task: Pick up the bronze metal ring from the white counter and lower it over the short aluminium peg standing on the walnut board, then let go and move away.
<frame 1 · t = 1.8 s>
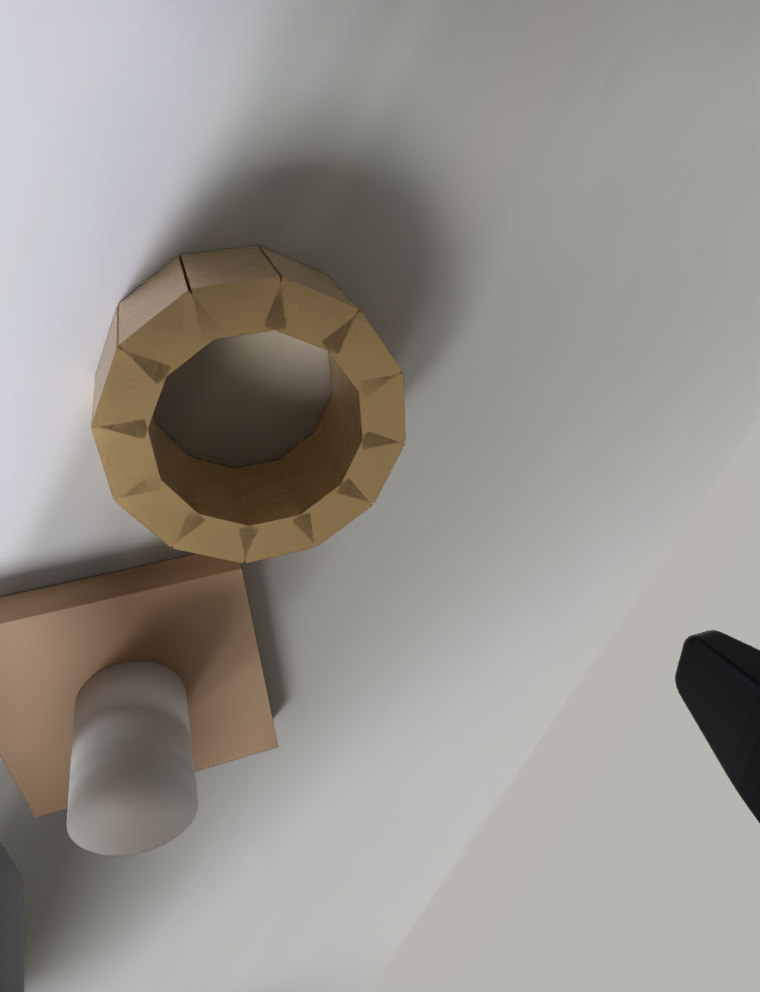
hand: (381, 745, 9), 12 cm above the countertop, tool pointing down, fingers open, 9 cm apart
peg stand: (131, 672, 22), on the countertop
ring: (242, 386, 18), on the countertop
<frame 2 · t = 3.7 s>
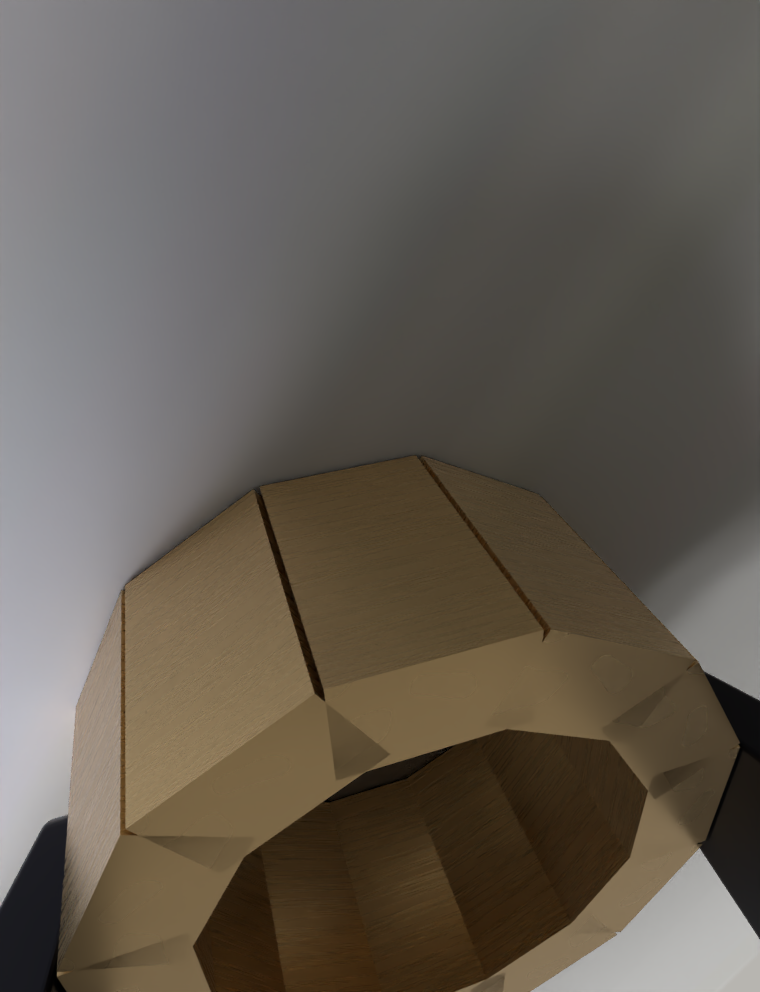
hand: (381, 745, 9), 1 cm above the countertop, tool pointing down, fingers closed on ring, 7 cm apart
ring: (359, 685, 10), on the countertop, touching gripper
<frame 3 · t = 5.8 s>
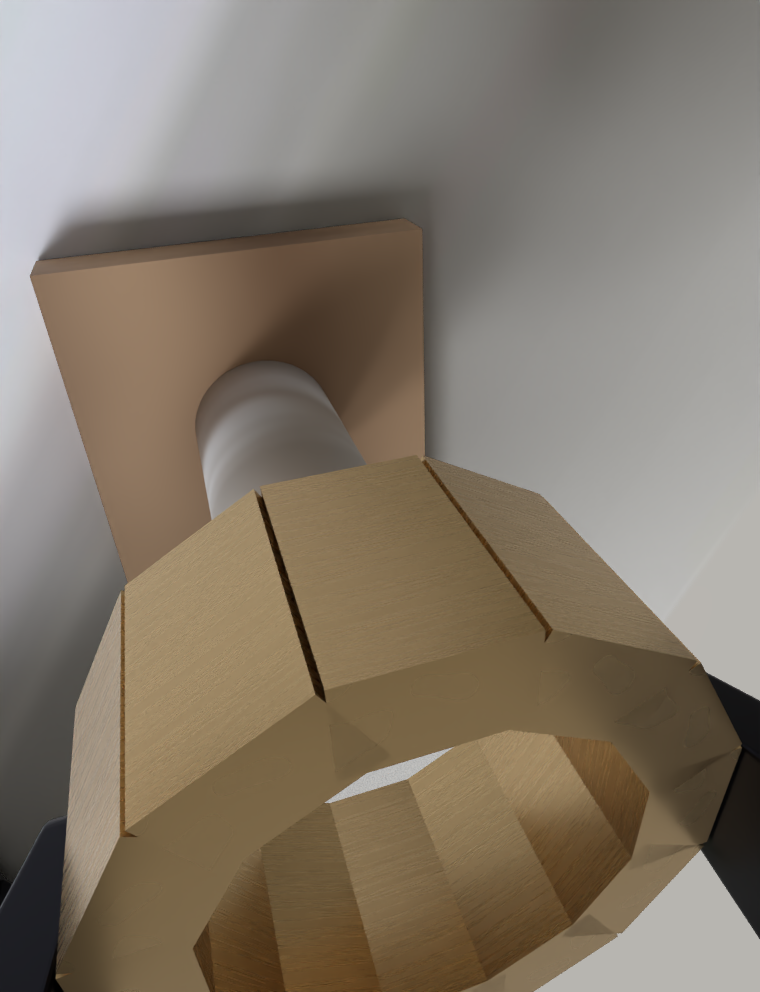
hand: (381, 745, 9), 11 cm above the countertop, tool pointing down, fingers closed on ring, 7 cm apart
peg stand: (257, 404, 17), on the countertop
ring: (359, 686, 10), point 10 cm above the countertop, touching gripper
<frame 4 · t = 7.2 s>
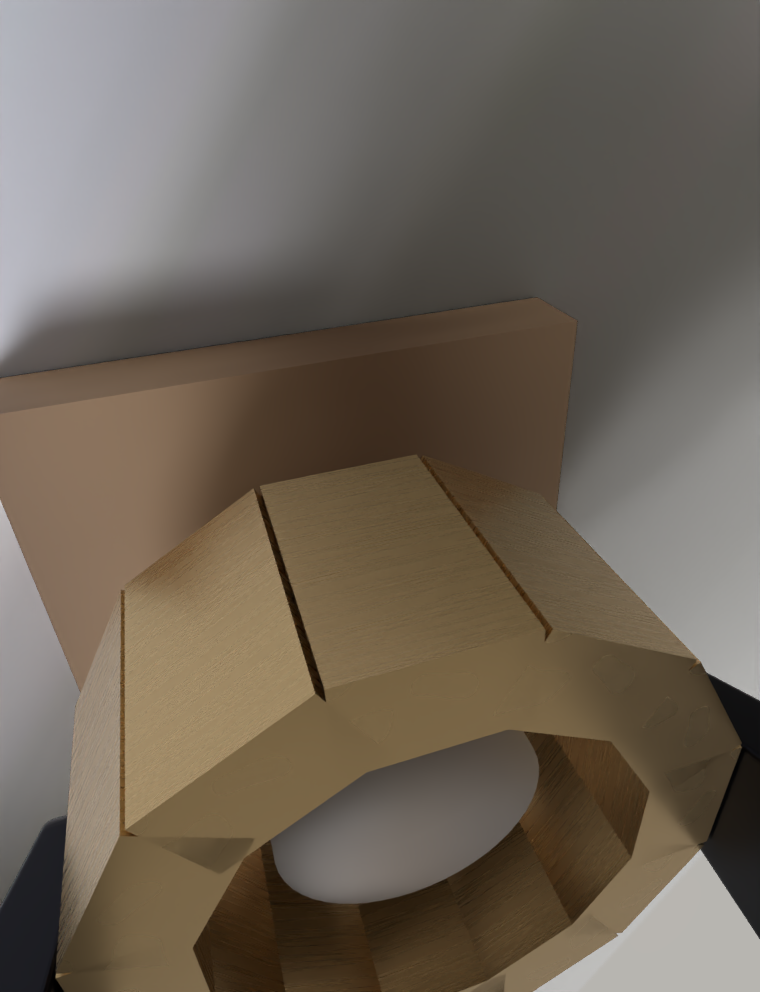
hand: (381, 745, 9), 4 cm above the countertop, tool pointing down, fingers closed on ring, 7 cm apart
peg stand: (313, 555, 12), on the countertop
ring: (359, 686, 10), point 3 cm above the countertop, touching gripper
when the fingers open (4 cm above the countertop, at t = 8.2 s): ring drops 2 cm, resting on peg stand.
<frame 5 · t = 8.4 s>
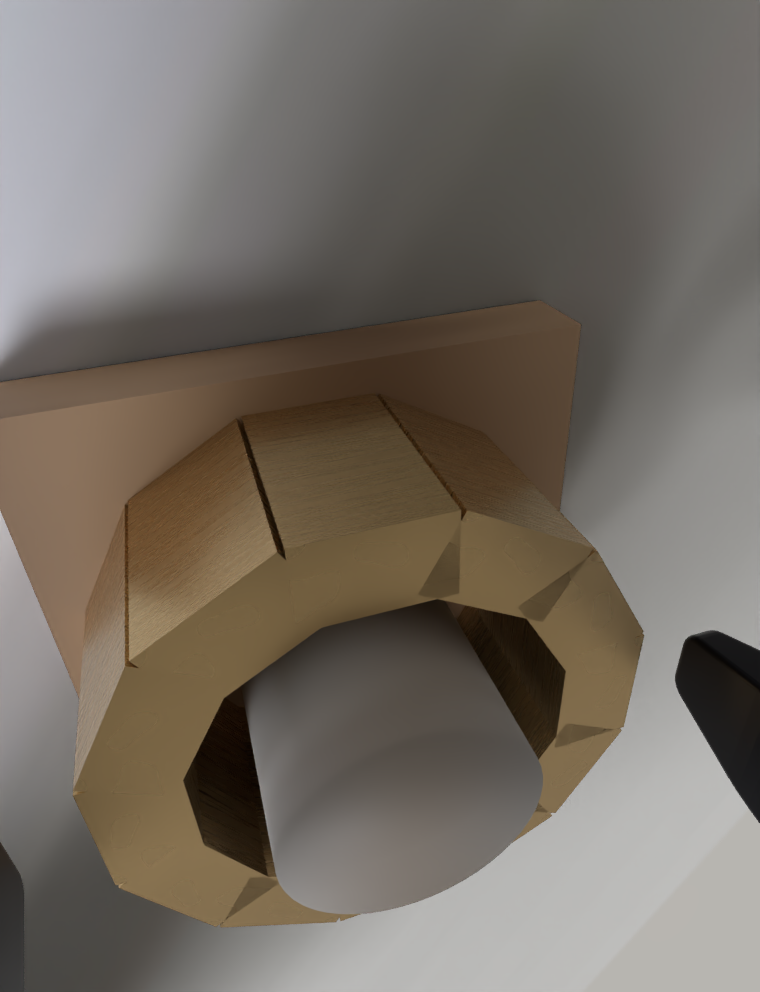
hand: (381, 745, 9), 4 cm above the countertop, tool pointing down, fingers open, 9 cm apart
peg stand: (314, 559, 12), on the countertop
ring: (331, 603, 11), point 1 cm above the countertop, touching peg stand
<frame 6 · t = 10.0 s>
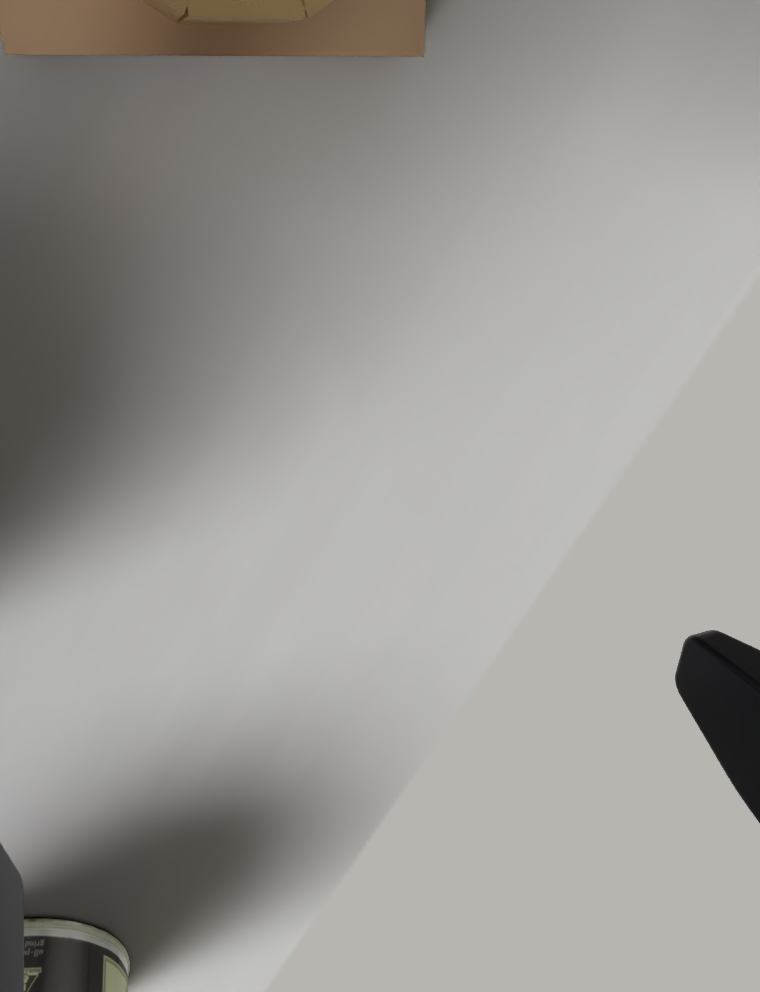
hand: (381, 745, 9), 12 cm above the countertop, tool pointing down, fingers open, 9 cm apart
coffee can: (0, 983, 29), on the countertop
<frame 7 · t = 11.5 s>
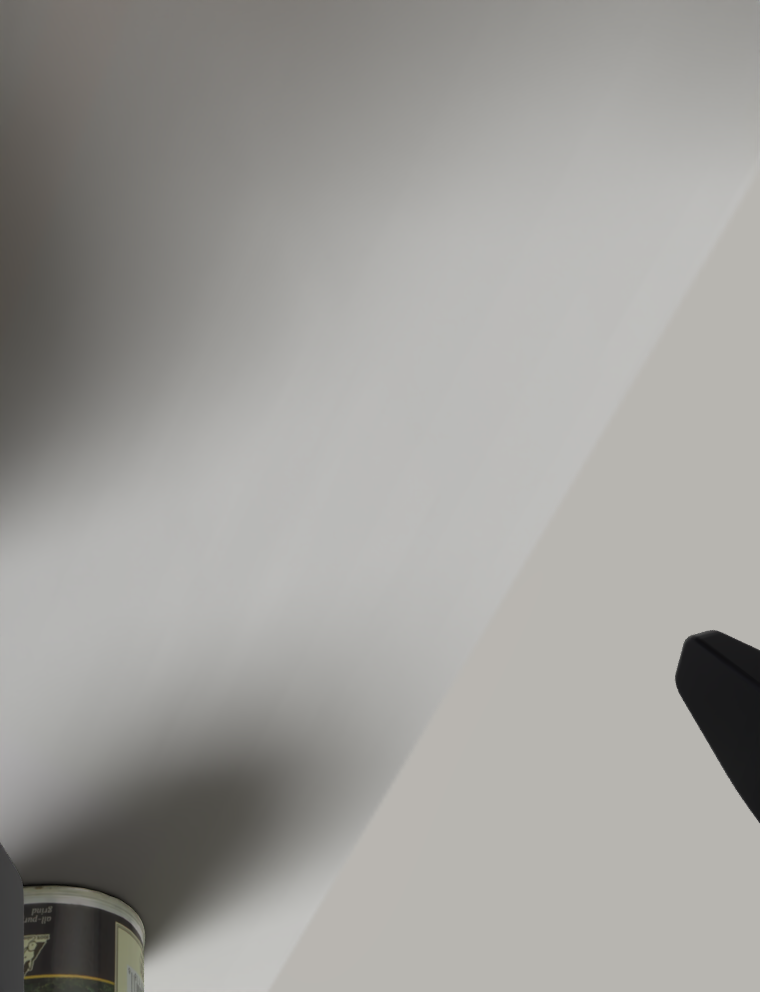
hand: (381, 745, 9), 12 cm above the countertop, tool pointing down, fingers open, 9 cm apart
coffee can: (13, 956, 28), on the countertop
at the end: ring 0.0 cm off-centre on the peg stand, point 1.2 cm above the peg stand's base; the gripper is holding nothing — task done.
